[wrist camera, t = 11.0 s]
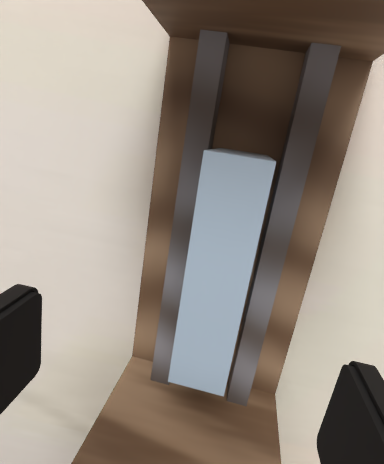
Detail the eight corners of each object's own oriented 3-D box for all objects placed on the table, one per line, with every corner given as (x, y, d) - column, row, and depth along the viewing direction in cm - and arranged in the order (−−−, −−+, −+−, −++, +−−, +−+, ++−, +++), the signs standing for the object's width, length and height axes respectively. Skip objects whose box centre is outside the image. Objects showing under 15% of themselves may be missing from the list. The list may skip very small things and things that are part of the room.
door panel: (233, 315, 24) (223, 396, 16) (194, 307, 24) (168, 381, 17) (267, 155, 20) (276, 161, 13) (221, 147, 21) (203, 149, 13)
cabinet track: (265, 408, 27) (281, 718, 13) (135, 372, 29) (12, 610, 14) (380, 11, 18) (885, -517, 4) (182, -9, 20) (-15, -435, 5)
